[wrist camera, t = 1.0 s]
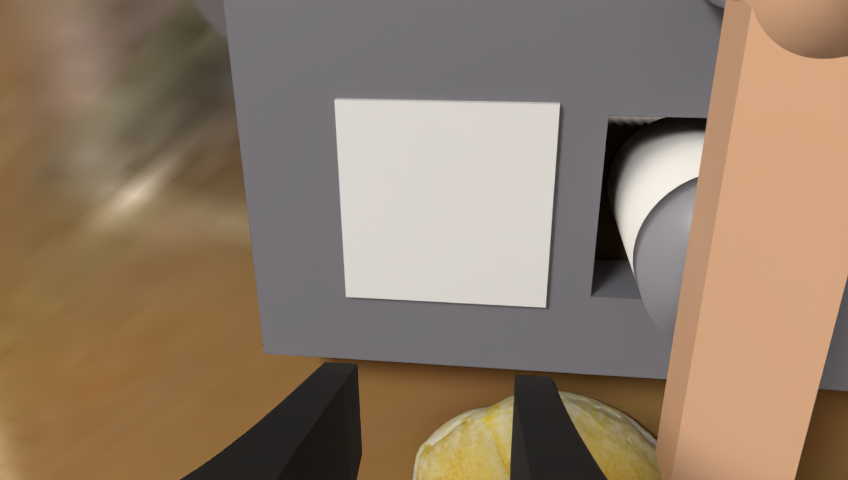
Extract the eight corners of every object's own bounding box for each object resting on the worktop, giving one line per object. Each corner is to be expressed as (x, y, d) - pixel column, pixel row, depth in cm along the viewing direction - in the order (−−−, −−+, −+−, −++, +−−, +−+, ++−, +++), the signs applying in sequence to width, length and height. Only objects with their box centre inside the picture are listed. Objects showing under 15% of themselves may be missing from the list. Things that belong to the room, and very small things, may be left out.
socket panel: (1090, -138, 16) (1389, -179, 10) (929, 349, 21) (1074, 494, 16) (247, -122, 18) (130, -148, 13) (289, 312, 23) (218, 427, 18)
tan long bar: (737, -117, 11) (767, -124, 10) (906, -120, 11) (960, -128, 10) (650, 451, 16) (662, 499, 15) (768, 461, 16) (791, 510, 14)
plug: (764, 116, 19) (863, 188, 14) (739, 249, 21) (818, 362, 15) (614, 112, 19) (652, 181, 14) (601, 243, 21) (630, 350, 16)
